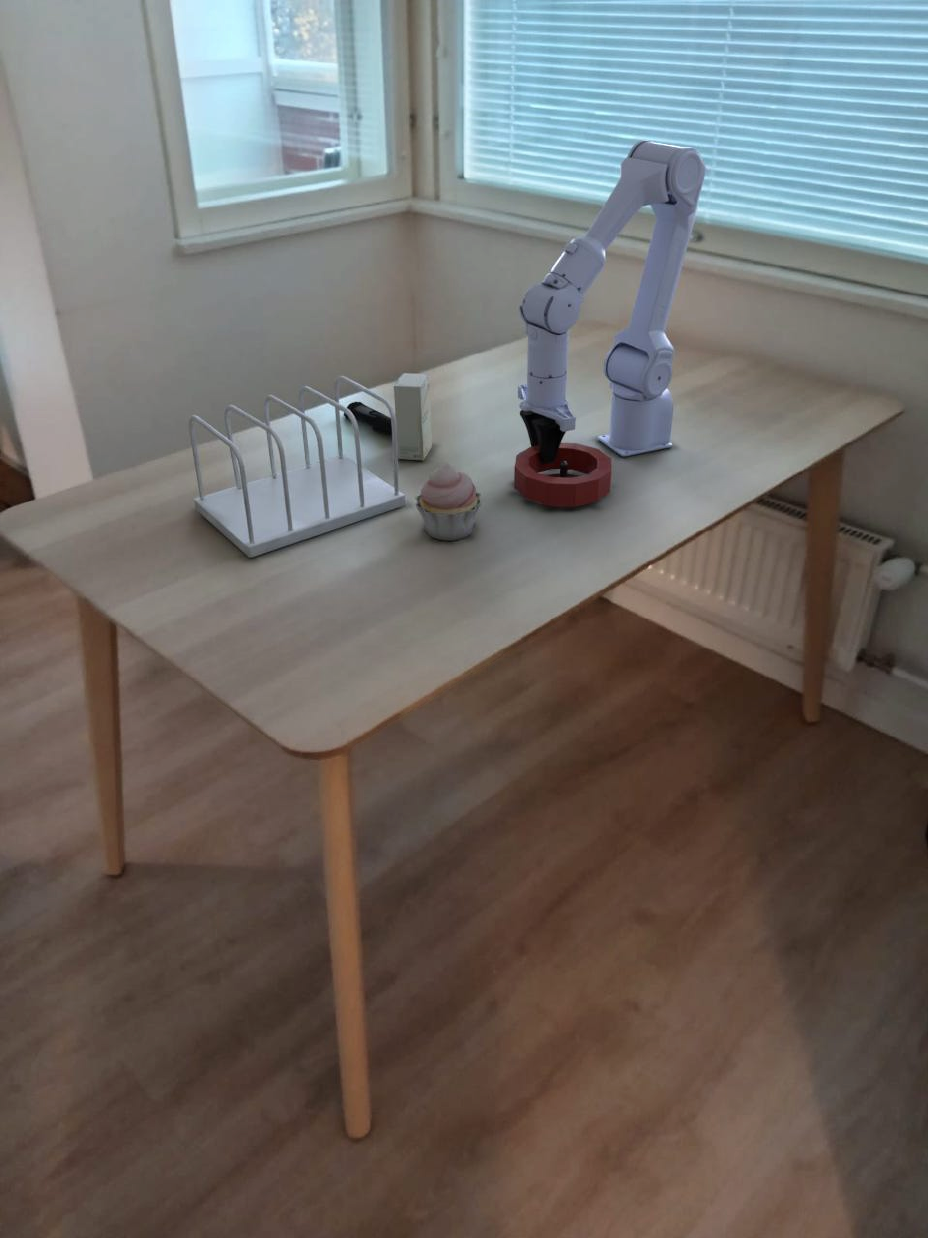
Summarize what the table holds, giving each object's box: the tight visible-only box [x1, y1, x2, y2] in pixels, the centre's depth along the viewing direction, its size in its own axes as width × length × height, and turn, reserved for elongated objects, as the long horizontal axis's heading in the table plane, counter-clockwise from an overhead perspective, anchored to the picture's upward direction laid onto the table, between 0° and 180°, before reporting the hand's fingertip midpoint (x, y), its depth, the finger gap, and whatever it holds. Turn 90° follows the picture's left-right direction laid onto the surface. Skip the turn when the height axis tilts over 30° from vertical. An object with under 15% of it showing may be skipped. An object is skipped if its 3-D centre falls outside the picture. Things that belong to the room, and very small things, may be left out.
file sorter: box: [188, 375, 406, 559], centre depth 133 cm, size 25×17×16 cm
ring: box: [513, 442, 613, 508], centre depth 140 cm, size 14×14×4 cm
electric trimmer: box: [343, 401, 392, 437], centre depth 160 cm, size 4×16×3 cm, turn 42°
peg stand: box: [546, 461, 579, 478], centre depth 140 cm, size 8×8×5 cm
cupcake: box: [414, 462, 483, 542], centre depth 129 cm, size 9×9×10 cm
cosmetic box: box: [393, 372, 433, 461], centre depth 150 cm, size 6×4×12 cm
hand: (543, 458), depth 145 cm, fingers closed on ring, 2 cm apart
